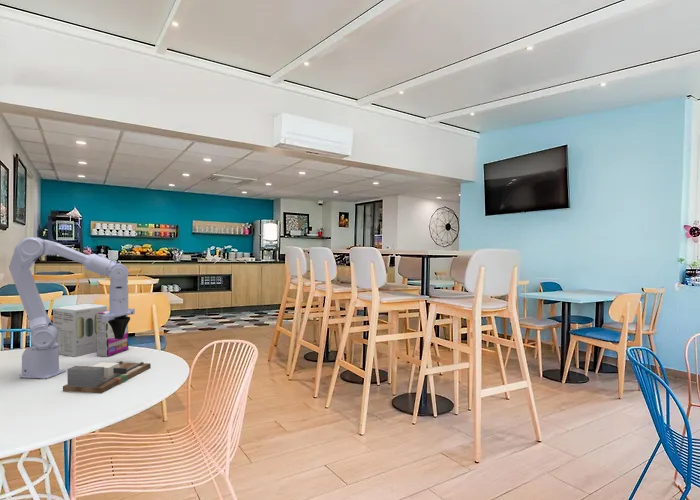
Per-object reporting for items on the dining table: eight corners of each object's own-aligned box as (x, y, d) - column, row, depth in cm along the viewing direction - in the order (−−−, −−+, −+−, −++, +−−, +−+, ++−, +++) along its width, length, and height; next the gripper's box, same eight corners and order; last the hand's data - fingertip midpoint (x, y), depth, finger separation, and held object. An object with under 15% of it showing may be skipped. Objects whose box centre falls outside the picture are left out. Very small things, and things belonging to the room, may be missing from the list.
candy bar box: (117, 349, 169) (117, 307, 168) (129, 349, 168) (128, 308, 167) (95, 356, 158) (95, 312, 157) (107, 357, 157) (107, 313, 156)
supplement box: (74, 357, 156) (73, 310, 156) (52, 353, 162) (52, 307, 162) (108, 349, 168) (107, 305, 168) (87, 345, 174) (86, 302, 174)
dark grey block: (67, 386, 121) (67, 368, 121) (75, 382, 124) (75, 365, 124) (96, 387, 120) (96, 370, 120) (104, 384, 123) (104, 367, 123)
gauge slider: (85, 379, 126) (85, 369, 126) (101, 372, 133) (101, 362, 133) (116, 381, 125) (116, 370, 125) (131, 373, 132) (131, 363, 132)
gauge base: (62, 391, 122) (62, 383, 122) (117, 366, 145) (117, 360, 145) (102, 393, 120) (102, 385, 120) (151, 367, 144) (151, 361, 144)
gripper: (115, 302, 138) (116, 344, 138) (142, 296, 153) (142, 334, 153) (95, 301, 139) (96, 343, 139) (124, 296, 153) (124, 333, 154)
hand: (119, 338), depth 146 cm, fingers closed
